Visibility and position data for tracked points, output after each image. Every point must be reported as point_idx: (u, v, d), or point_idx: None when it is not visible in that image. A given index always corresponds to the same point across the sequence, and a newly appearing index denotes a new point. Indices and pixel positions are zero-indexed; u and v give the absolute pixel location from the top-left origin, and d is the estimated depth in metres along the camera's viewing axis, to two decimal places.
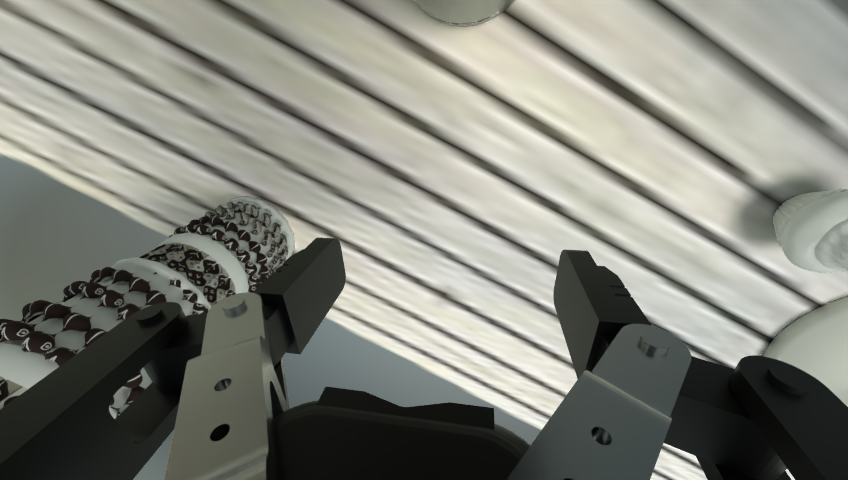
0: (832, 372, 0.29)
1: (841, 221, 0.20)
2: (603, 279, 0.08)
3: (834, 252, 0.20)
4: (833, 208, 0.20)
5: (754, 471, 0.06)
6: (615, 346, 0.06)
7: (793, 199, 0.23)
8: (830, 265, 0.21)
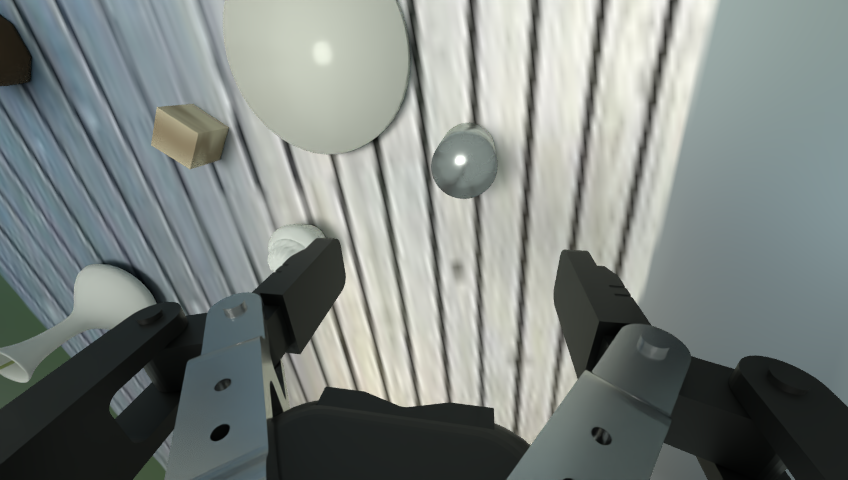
0: (350, 81, 0.27)
1: None
2: (603, 279, 0.08)
3: None
4: None
5: (754, 471, 0.06)
6: (615, 346, 0.06)
7: None
8: None
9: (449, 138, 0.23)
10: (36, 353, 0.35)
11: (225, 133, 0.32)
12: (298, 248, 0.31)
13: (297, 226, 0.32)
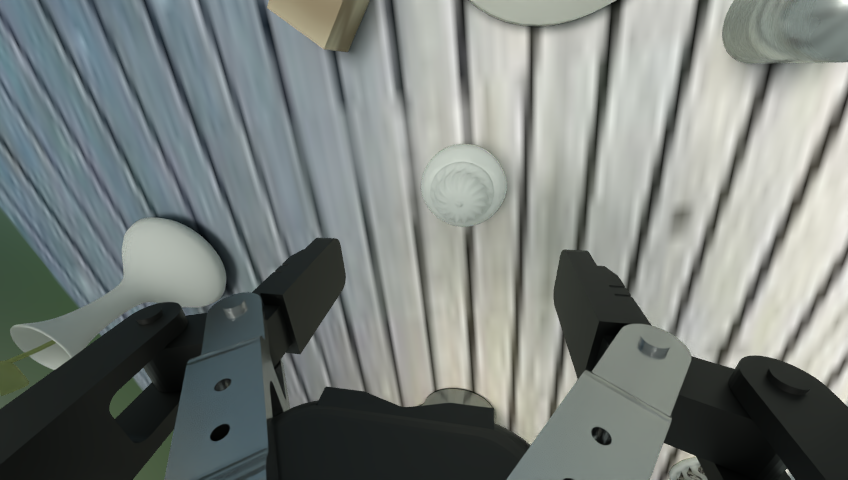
0: None
1: (458, 222, 0.23)
2: (603, 279, 0.08)
3: None
4: (454, 225, 0.24)
5: (754, 471, 0.06)
6: (615, 346, 0.06)
7: None
8: (491, 195, 0.21)
9: None
10: (83, 331, 0.25)
11: (367, 2, 0.21)
12: (483, 175, 0.20)
13: (474, 145, 0.21)
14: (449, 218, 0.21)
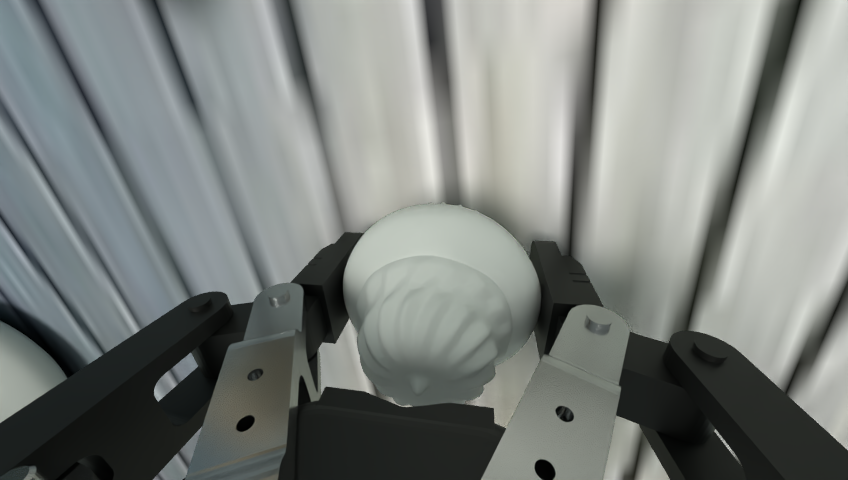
0: None
1: None
2: (564, 266, 0.09)
3: None
4: None
5: (690, 436, 0.06)
6: (563, 323, 0.07)
7: None
8: (506, 339, 0.08)
9: None
10: None
11: None
12: (485, 296, 0.08)
13: (460, 208, 0.09)
14: (398, 403, 0.08)
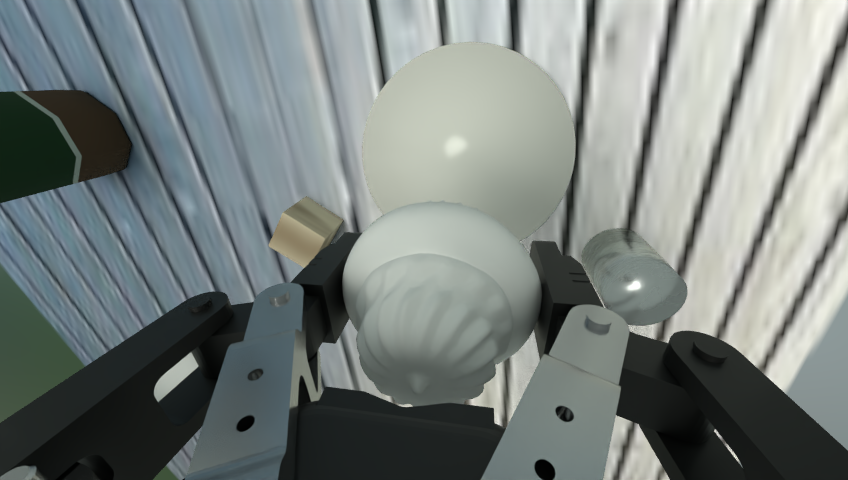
0: (501, 190, 0.24)
1: None
2: (564, 266, 0.09)
3: None
4: None
5: (690, 436, 0.06)
6: (563, 323, 0.07)
7: None
8: (506, 337, 0.08)
9: (636, 270, 0.21)
10: None
11: (339, 225, 0.30)
12: (485, 294, 0.08)
13: (460, 206, 0.09)
14: (397, 402, 0.08)
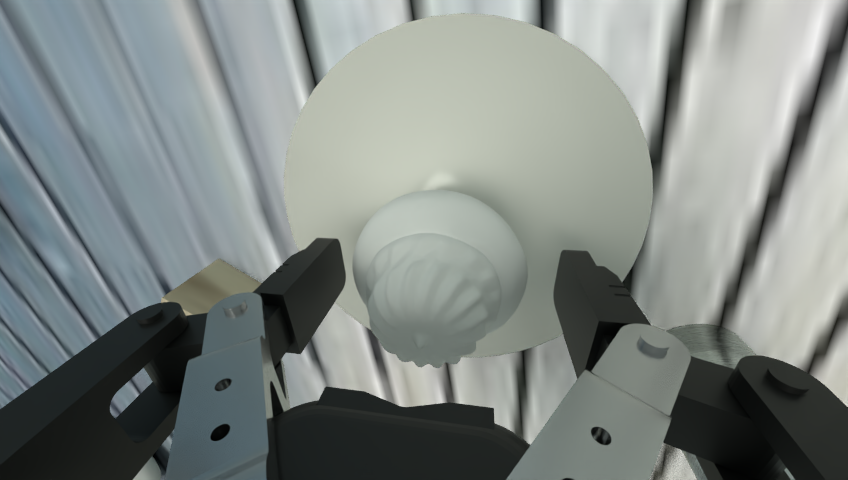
0: None
1: None
2: (603, 279, 0.08)
3: None
4: None
5: (754, 471, 0.06)
6: (614, 346, 0.06)
7: None
8: (495, 306, 0.09)
9: None
10: None
11: None
12: (477, 267, 0.09)
13: (456, 193, 0.10)
14: (402, 360, 0.09)
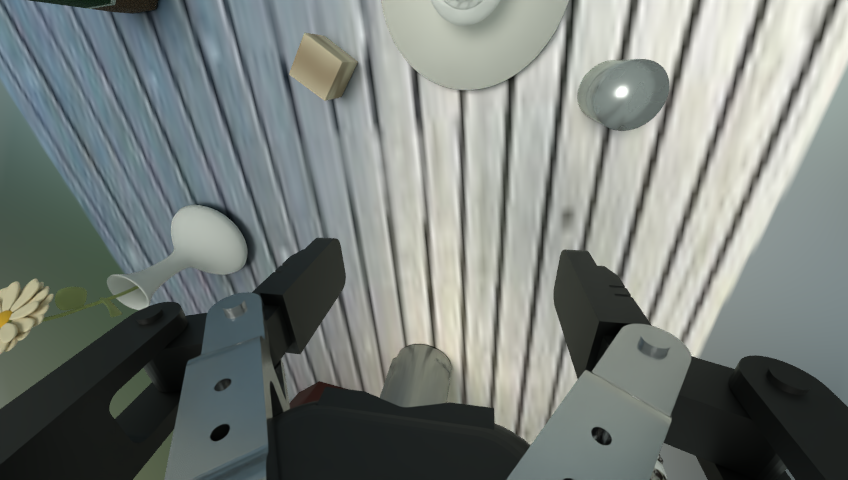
0: (506, 11, 0.26)
1: (461, 10, 0.23)
2: (603, 279, 0.08)
3: None
4: (456, 20, 0.24)
5: (754, 471, 0.06)
6: (615, 346, 0.06)
7: None
8: None
9: (624, 64, 0.23)
10: (153, 282, 0.36)
11: (354, 67, 0.32)
12: None
13: None
14: None
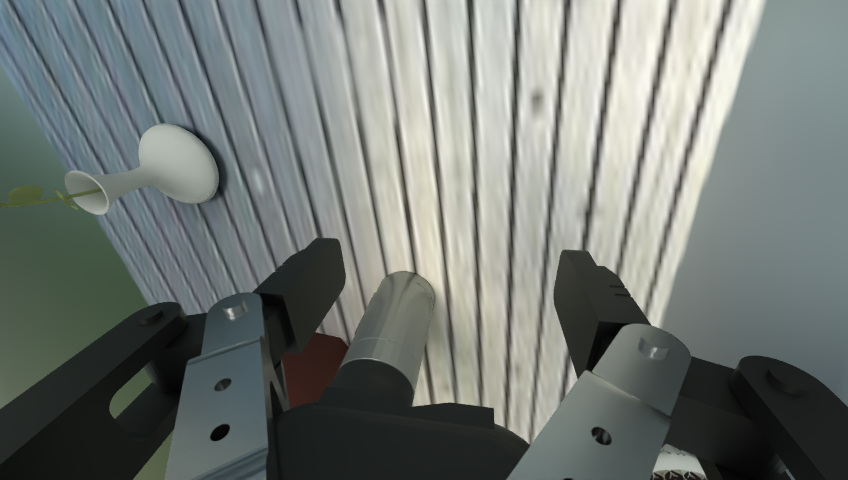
0: None
1: None
2: (603, 279, 0.08)
3: None
4: None
5: (754, 471, 0.06)
6: (615, 346, 0.06)
7: None
8: None
9: None
10: (114, 186, 0.35)
11: None
12: None
13: None
14: None
